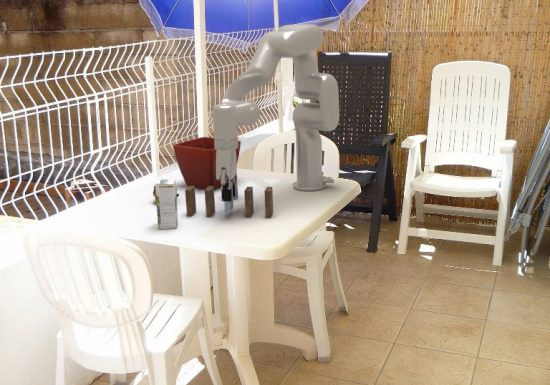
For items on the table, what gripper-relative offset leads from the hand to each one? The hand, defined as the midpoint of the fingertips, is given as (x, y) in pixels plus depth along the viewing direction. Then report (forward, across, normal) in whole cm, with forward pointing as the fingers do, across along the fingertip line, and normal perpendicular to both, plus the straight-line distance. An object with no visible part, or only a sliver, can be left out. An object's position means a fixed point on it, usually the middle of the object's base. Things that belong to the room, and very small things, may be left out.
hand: (228, 198), depth 191 cm
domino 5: (+6, 0, +13) cm, 14 cm away
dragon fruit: (+6, -13, -26) cm, 30 cm away
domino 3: (+4, 0, 0) cm, 4 cm away
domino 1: (+6, 0, -13) cm, 14 cm away
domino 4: (+6, 0, +7) cm, 9 cm away
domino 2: (+6, 0, -6) cm, 9 cm away
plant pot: (+6, -36, -16) cm, 40 cm away
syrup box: (+6, +12, -17) cm, 21 cm away
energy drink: (+6, -19, -4) cm, 20 cm away
